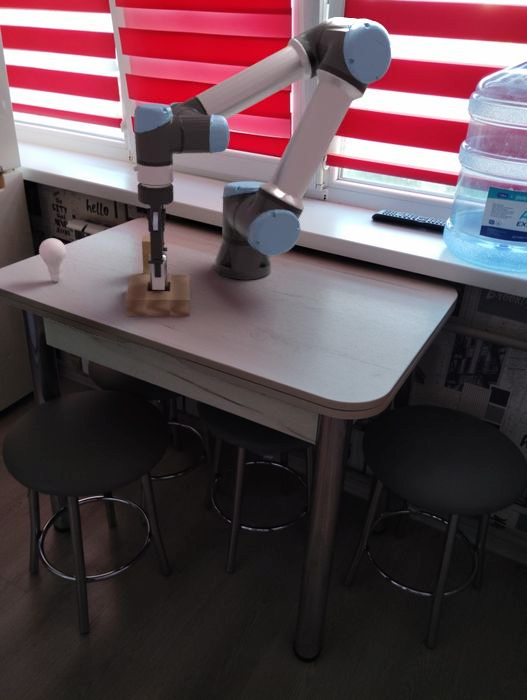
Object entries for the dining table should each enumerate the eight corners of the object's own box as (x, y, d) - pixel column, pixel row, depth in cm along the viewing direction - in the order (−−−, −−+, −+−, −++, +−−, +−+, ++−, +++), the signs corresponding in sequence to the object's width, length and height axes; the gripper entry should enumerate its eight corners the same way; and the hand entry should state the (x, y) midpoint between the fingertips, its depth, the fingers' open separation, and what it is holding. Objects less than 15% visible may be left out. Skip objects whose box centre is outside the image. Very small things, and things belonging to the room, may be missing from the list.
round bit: (168, 299, 142) (166, 251, 136) (167, 306, 138) (166, 258, 132) (151, 298, 141) (149, 251, 135) (150, 306, 138) (148, 258, 132)
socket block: (189, 289, 147) (189, 274, 145) (189, 315, 135) (189, 299, 133) (131, 289, 145) (130, 274, 143) (126, 315, 133) (125, 299, 131)
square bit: (160, 272, 155) (158, 236, 150) (159, 278, 151) (158, 241, 146) (144, 272, 154) (142, 235, 149) (143, 278, 151) (141, 241, 146)
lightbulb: (62, 288, 143) (56, 244, 138) (38, 284, 144) (32, 241, 139) (74, 278, 148) (69, 236, 143) (51, 275, 149) (45, 233, 144)
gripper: (140, 172, 133) (144, 268, 145) (134, 194, 118) (140, 300, 129) (173, 173, 134) (175, 269, 145) (172, 195, 118) (174, 300, 130)
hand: (159, 283), depth 137 cm, fingers open, 5 cm apart
